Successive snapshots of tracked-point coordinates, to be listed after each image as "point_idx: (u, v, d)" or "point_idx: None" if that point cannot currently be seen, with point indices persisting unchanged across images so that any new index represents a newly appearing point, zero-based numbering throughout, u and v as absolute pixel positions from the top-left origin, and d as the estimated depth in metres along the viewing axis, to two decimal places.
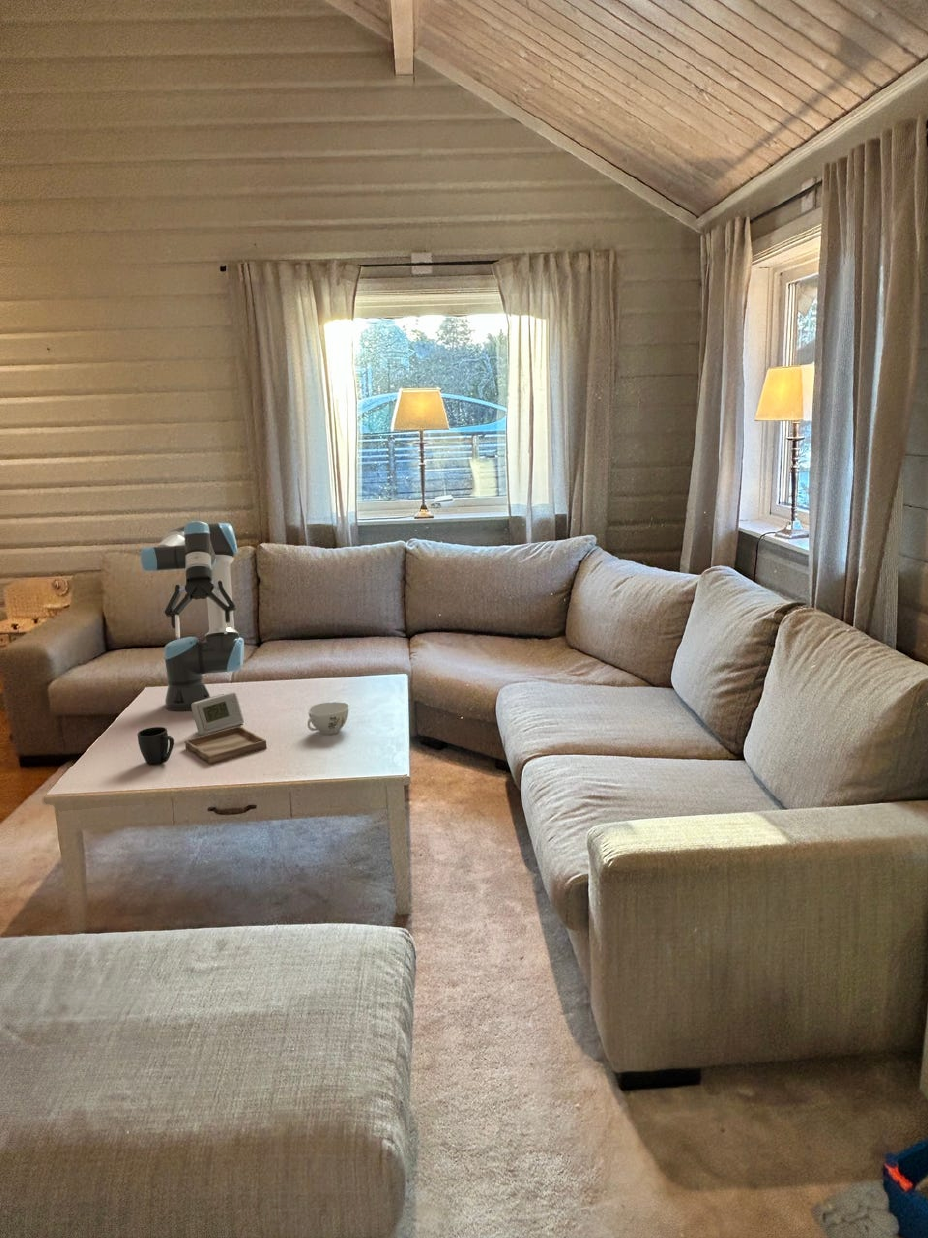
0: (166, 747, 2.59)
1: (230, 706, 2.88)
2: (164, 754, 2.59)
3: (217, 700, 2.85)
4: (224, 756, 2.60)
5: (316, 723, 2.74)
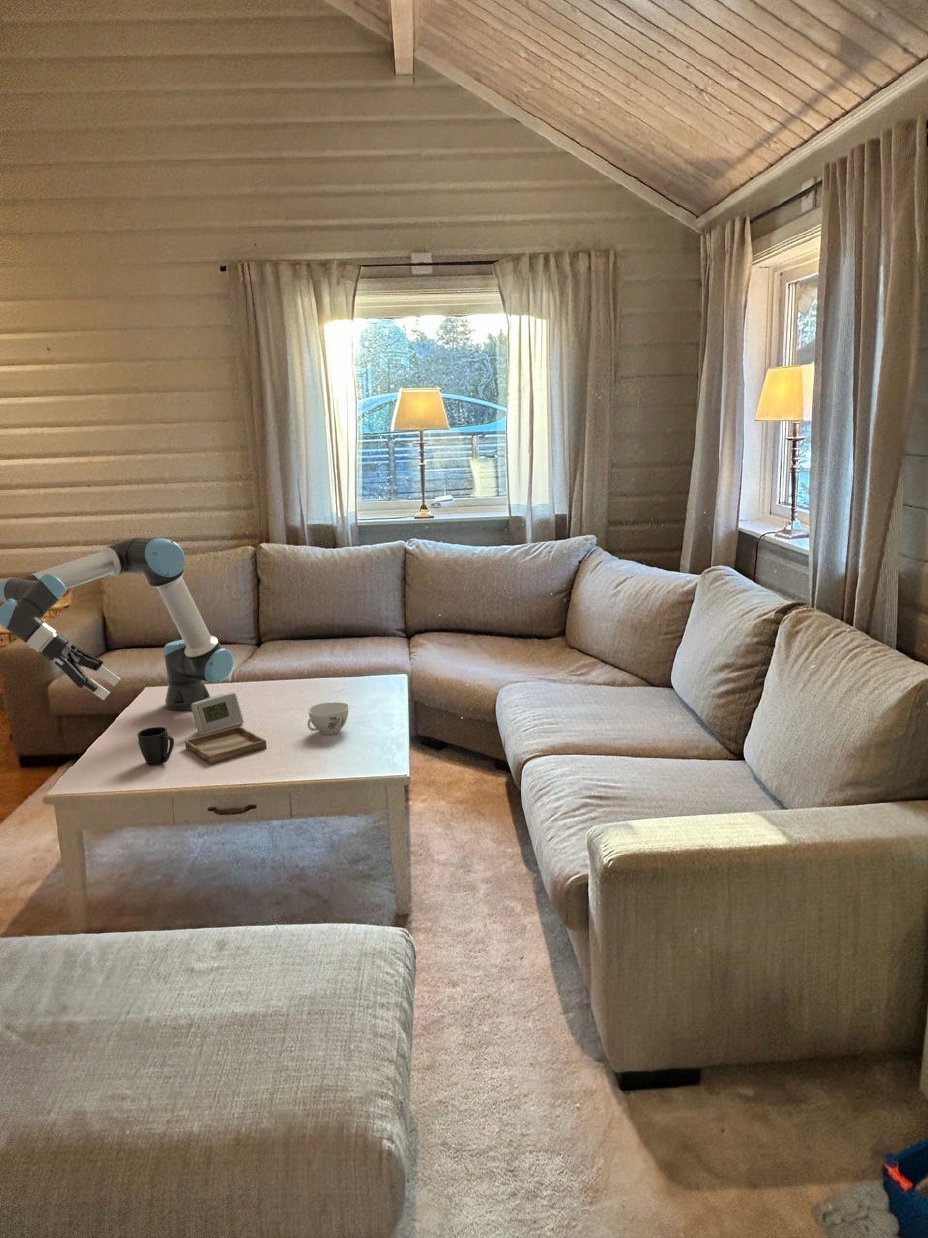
0: (166, 747, 2.59)
1: (230, 706, 2.87)
2: (164, 754, 2.59)
3: (217, 700, 2.85)
4: (224, 756, 2.60)
5: (316, 723, 2.74)
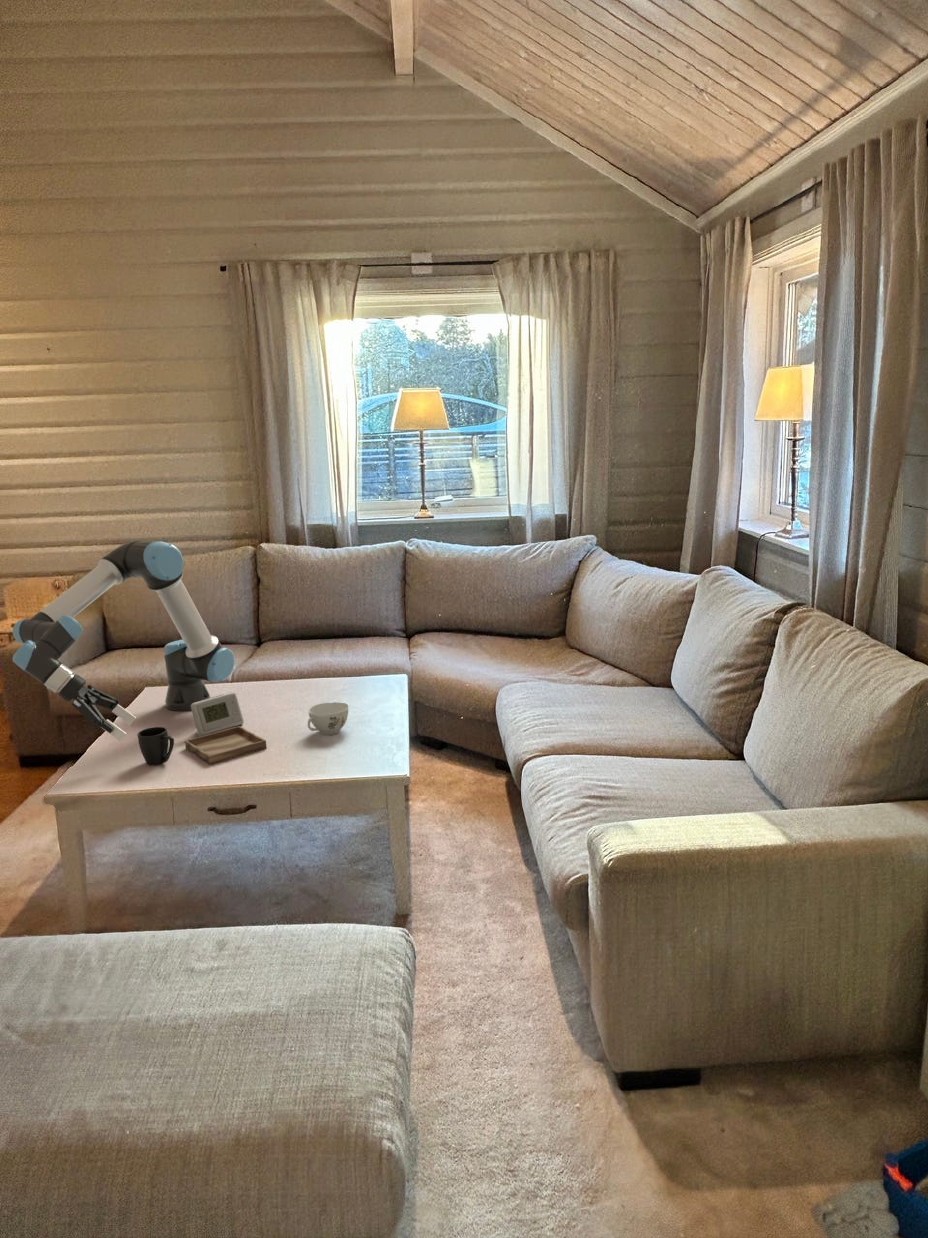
0: (166, 747, 2.59)
1: (230, 706, 2.87)
2: (164, 754, 2.59)
3: (217, 700, 2.85)
4: (224, 756, 2.60)
5: (316, 723, 2.74)
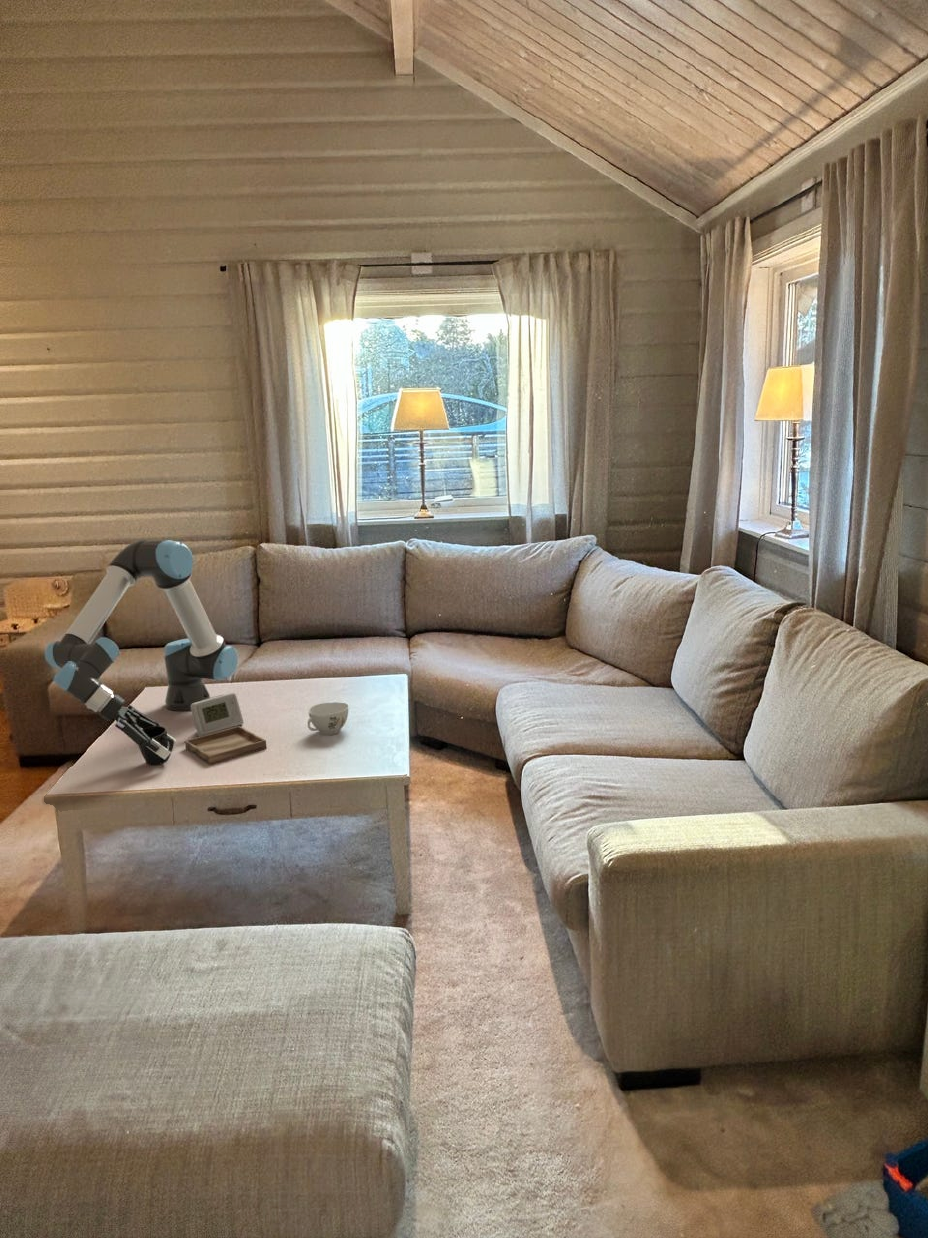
0: (166, 747, 2.59)
1: (230, 707, 2.87)
2: None
3: (217, 701, 2.85)
4: (224, 756, 2.60)
5: (316, 723, 2.74)
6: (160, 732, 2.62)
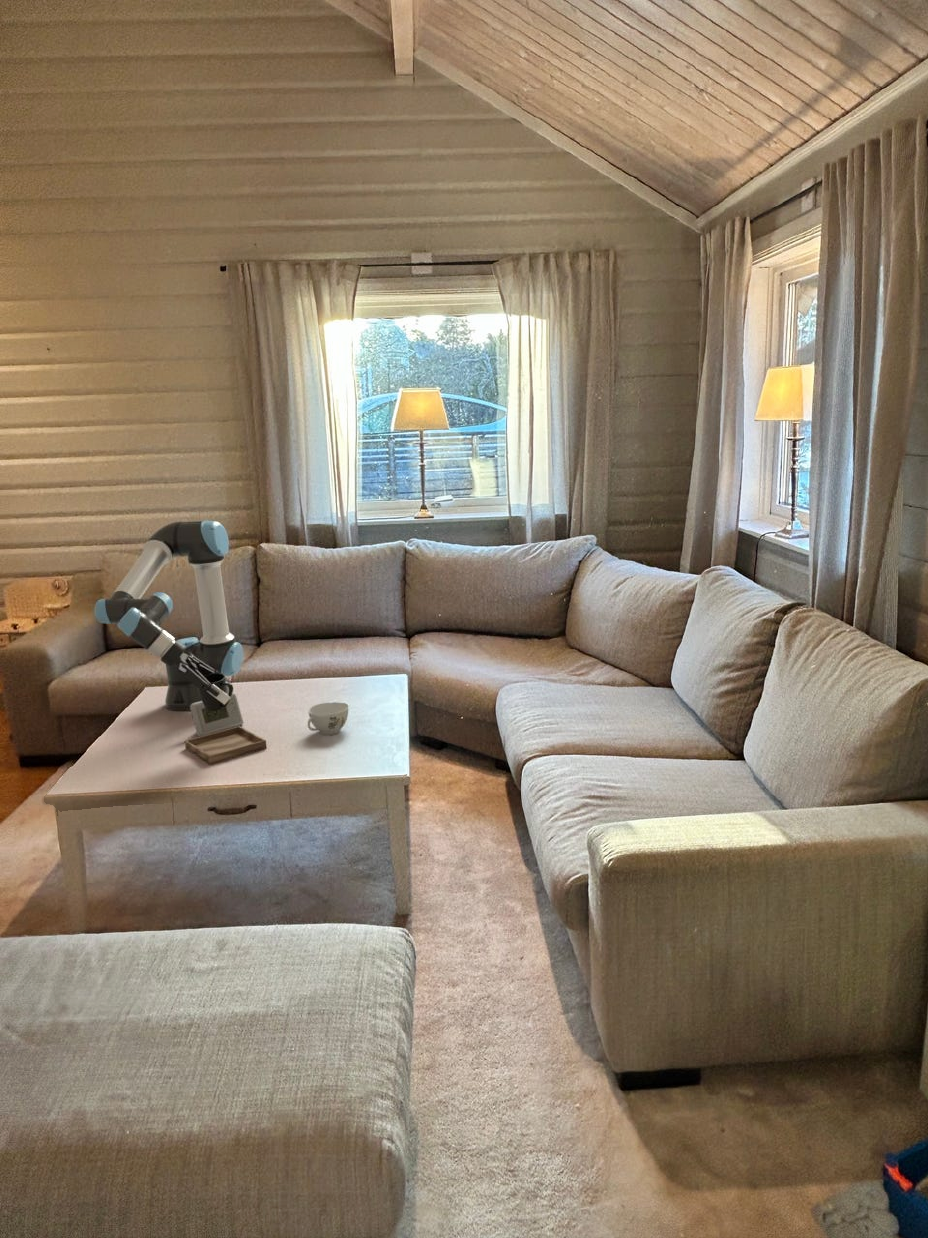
0: None
1: (229, 707, 2.87)
2: None
3: None
4: (224, 756, 2.60)
5: (316, 723, 2.74)
6: (219, 679, 2.68)
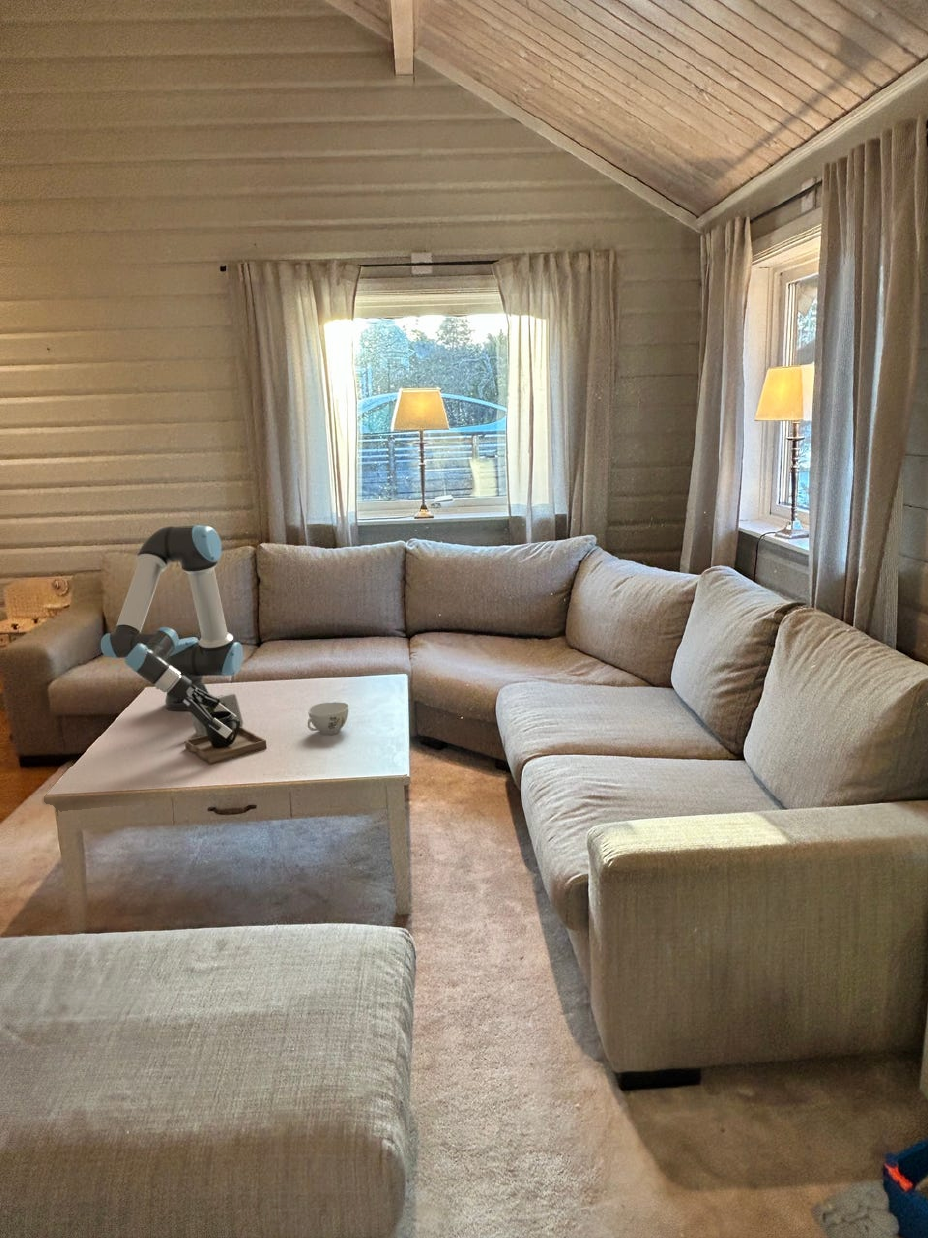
0: None
1: (229, 707, 2.86)
2: (229, 737, 2.69)
3: None
4: (224, 756, 2.60)
5: (316, 723, 2.74)
6: (225, 717, 2.72)
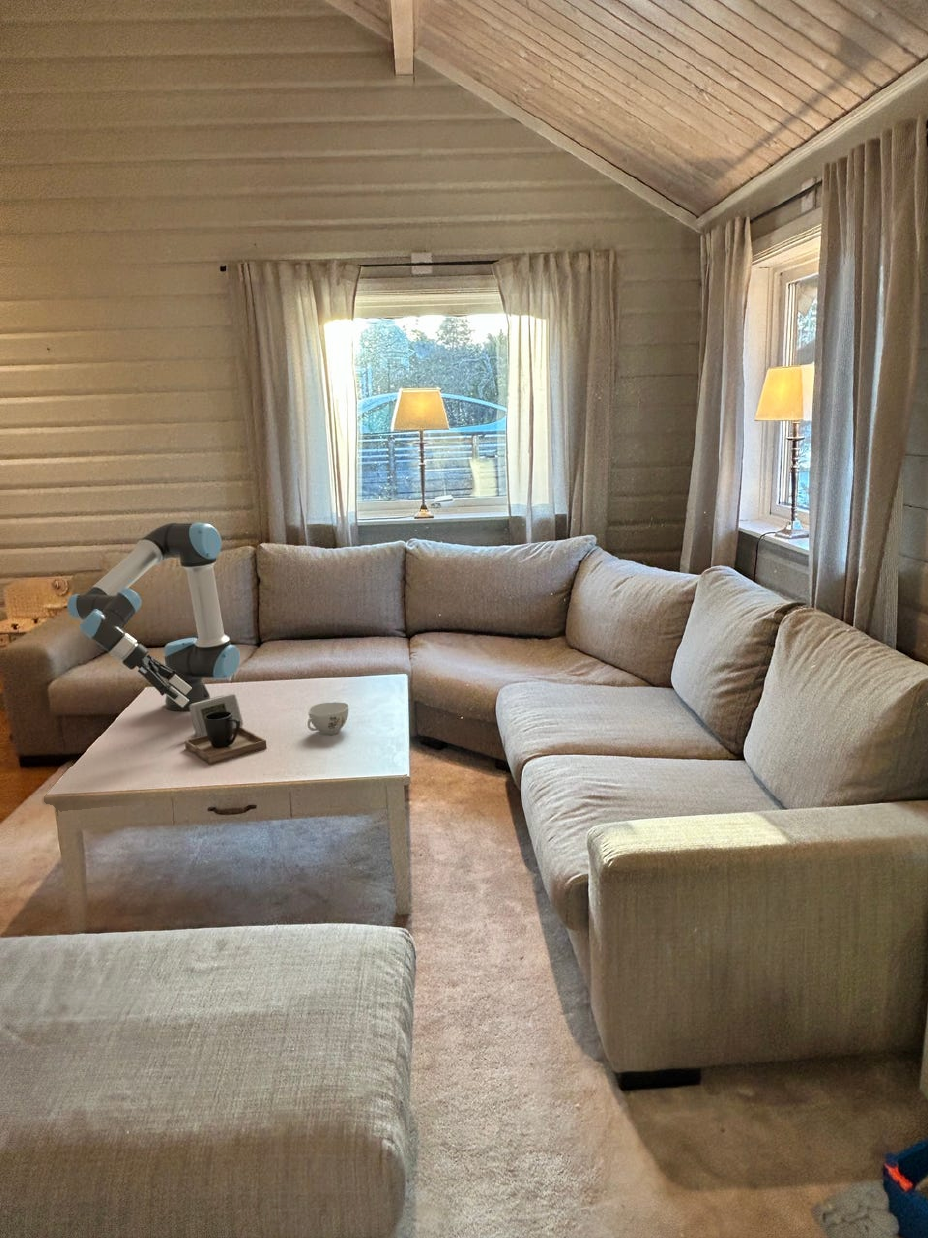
0: (231, 730, 2.69)
1: (229, 708, 2.86)
2: (229, 737, 2.69)
3: (216, 701, 2.84)
4: (224, 756, 2.60)
5: (316, 723, 2.74)
6: (225, 717, 2.72)
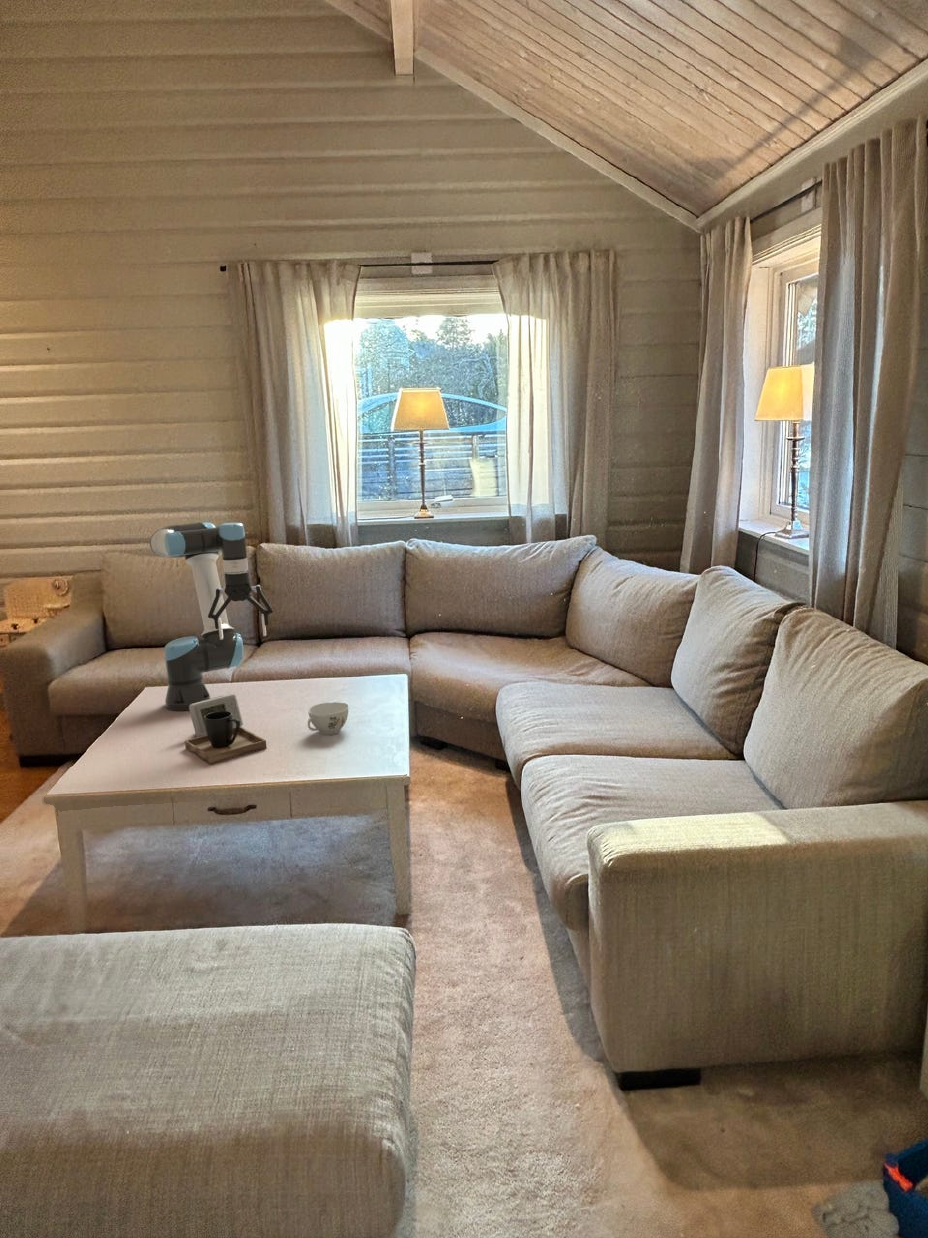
0: (231, 730, 2.69)
1: (229, 708, 2.86)
2: (229, 737, 2.69)
3: (216, 702, 2.84)
4: (224, 756, 2.60)
5: (316, 723, 2.74)
6: (225, 717, 2.72)
